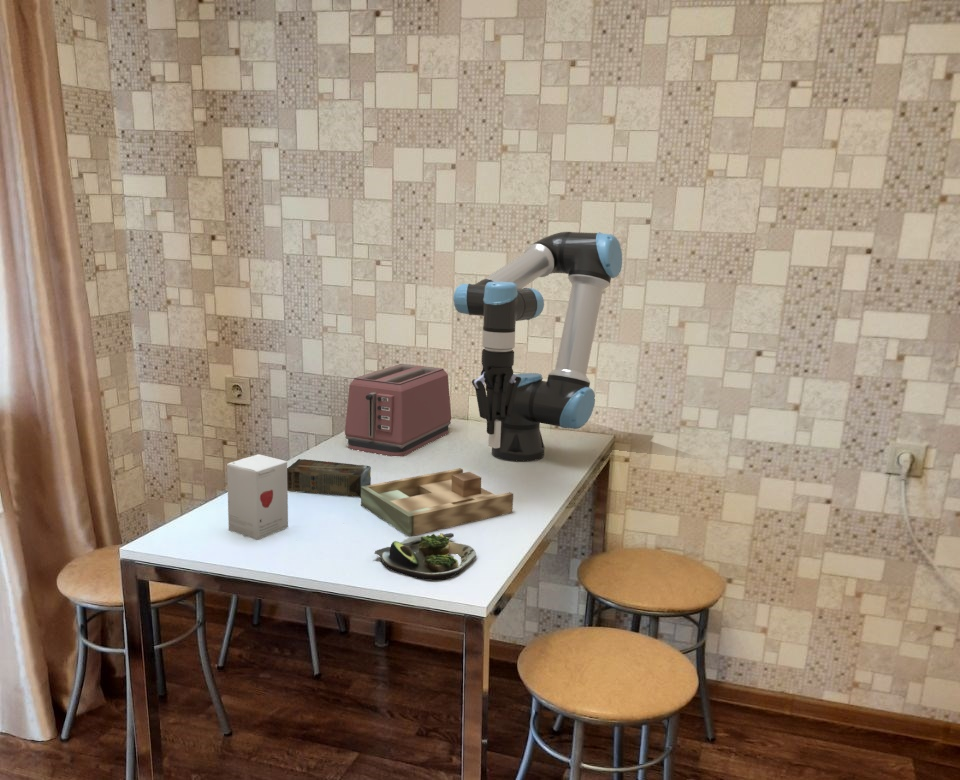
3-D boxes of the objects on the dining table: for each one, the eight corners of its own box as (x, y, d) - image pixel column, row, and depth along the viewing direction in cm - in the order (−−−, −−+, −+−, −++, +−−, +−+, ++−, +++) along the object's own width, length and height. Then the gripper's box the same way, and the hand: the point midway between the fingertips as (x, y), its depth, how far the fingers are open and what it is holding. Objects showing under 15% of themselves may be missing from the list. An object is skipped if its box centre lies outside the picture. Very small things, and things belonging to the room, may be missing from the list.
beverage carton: (361, 499, 192) (361, 472, 191) (285, 492, 195) (284, 466, 194) (371, 488, 200) (371, 462, 198) (297, 482, 203) (297, 456, 201)
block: (468, 487, 194) (469, 471, 193) (480, 493, 190) (481, 477, 189) (451, 491, 191) (451, 474, 190) (463, 497, 187) (463, 480, 186)
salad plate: (419, 533, 173) (419, 512, 172) (493, 551, 165) (493, 530, 164) (364, 565, 156) (364, 543, 155) (443, 588, 148) (444, 564, 147)
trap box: (459, 485, 203) (460, 468, 202) (512, 512, 186) (513, 493, 185) (360, 505, 187) (360, 486, 186) (408, 536, 170) (408, 516, 169)
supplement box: (257, 541, 166) (255, 471, 162) (227, 531, 170) (225, 463, 167) (289, 527, 173) (288, 460, 170) (260, 518, 178) (258, 452, 175)
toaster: (339, 450, 230) (338, 380, 226) (399, 424, 260) (399, 361, 256) (397, 460, 222) (397, 387, 218) (452, 432, 253) (453, 368, 248)
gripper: (510, 345, 195) (506, 439, 200) (466, 348, 187) (462, 446, 192) (530, 349, 189) (525, 447, 194) (484, 353, 181) (480, 454, 186)
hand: (494, 446), depth 193 cm, fingers closed
